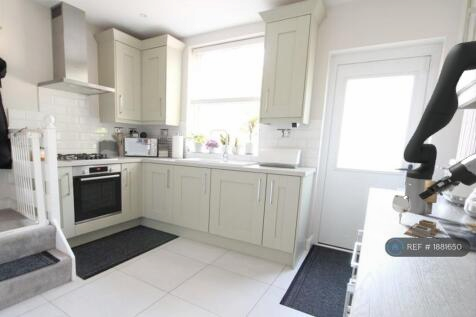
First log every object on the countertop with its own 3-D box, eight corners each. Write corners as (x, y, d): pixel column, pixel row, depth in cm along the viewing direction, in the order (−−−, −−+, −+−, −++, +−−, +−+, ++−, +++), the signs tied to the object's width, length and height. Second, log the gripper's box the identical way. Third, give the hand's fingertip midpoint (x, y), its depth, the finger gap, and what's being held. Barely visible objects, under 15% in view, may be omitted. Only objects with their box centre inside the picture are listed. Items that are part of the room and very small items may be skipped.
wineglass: (402, 230, 81) (405, 199, 81) (387, 225, 87) (389, 195, 86) (412, 228, 84) (415, 198, 83) (396, 223, 89) (399, 194, 88)
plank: (415, 226, 86) (416, 216, 86) (439, 232, 81) (440, 222, 80) (402, 238, 74) (403, 226, 74) (429, 246, 69) (431, 233, 69)
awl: (423, 211, 83) (426, 180, 82) (436, 213, 80) (439, 181, 79) (421, 213, 80) (424, 181, 79) (434, 215, 78) (437, 182, 77)
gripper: (470, 159, 76) (423, 186, 87) (455, 159, 68) (406, 190, 80) (491, 176, 71) (439, 203, 83) (477, 179, 64) (423, 208, 76)
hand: (423, 196), depth 81 cm, fingers closed on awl, 3 cm apart
